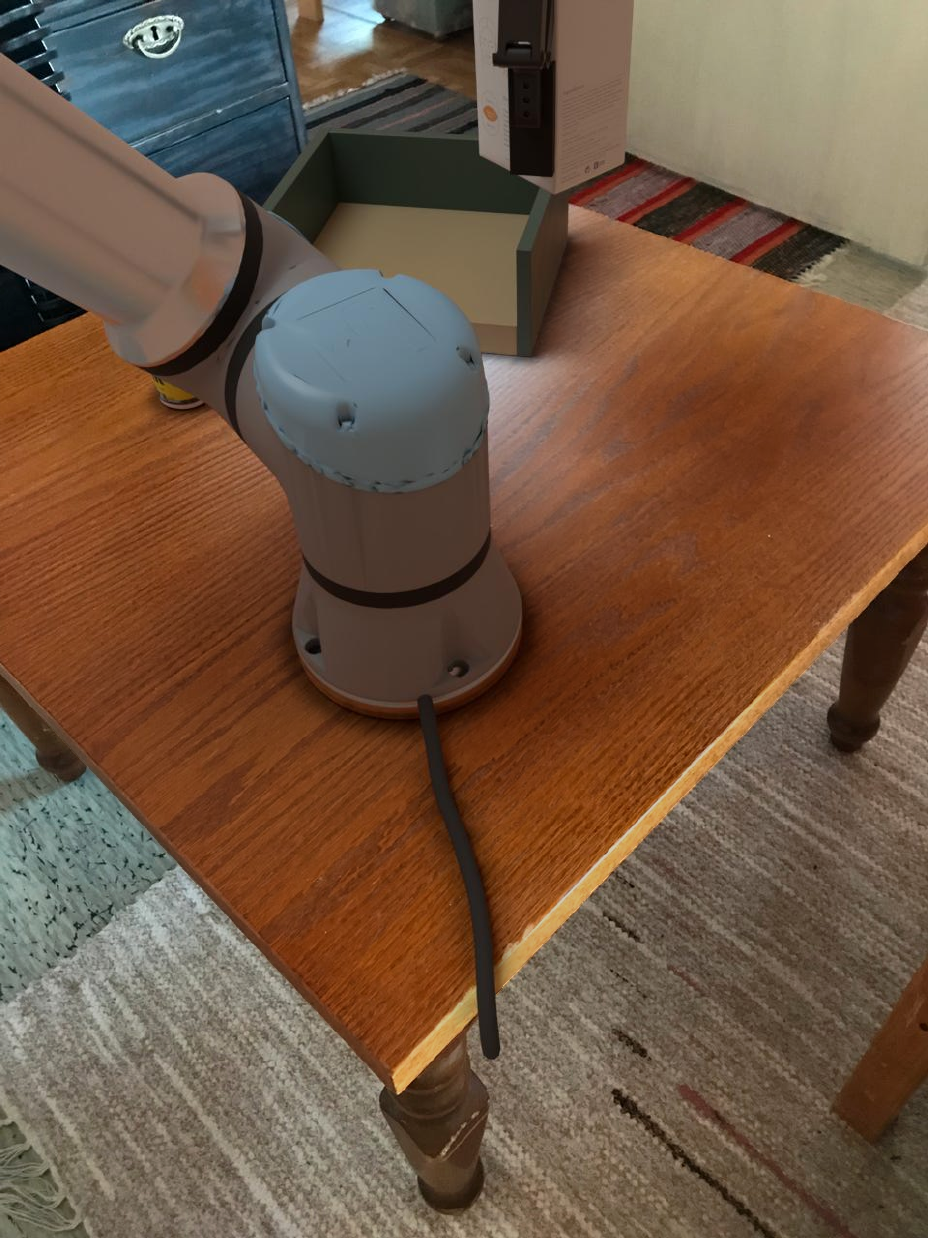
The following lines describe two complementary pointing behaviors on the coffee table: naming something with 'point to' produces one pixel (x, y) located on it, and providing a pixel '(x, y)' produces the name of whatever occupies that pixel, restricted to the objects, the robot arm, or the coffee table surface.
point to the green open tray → (432, 223)
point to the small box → (565, 88)
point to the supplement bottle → (175, 395)
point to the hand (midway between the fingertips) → (549, 136)
